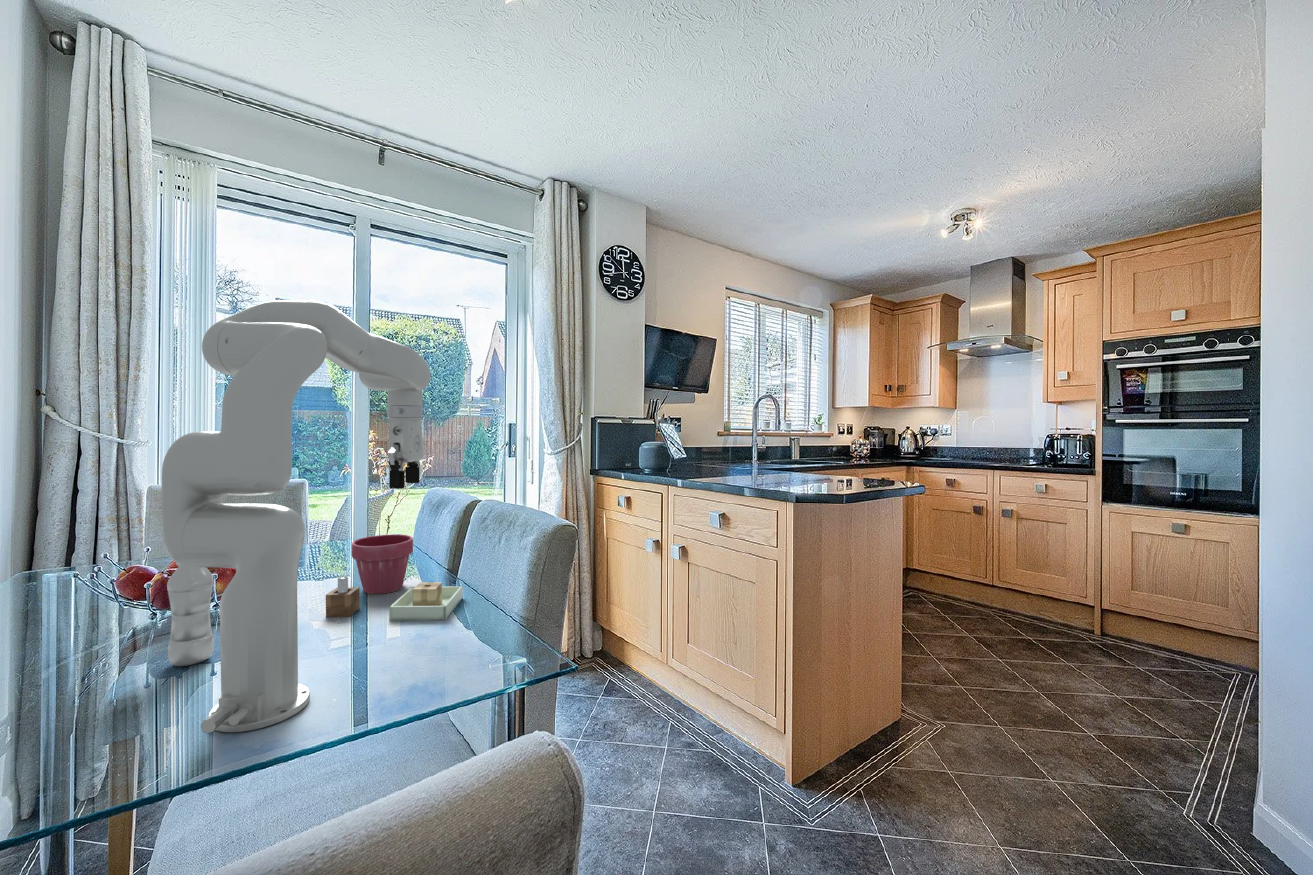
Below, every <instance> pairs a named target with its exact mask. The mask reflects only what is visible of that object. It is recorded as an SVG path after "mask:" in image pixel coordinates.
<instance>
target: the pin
mask: <svg viewBox="0 0 1313 875" xmlns="http://www.w3.org/2000/svg"><path fill="white" fill-rule="evenodd" d="M337 588H338V593H348V588H349V577H348V576H340V577H338V578H337Z"/></svg>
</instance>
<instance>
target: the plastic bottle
mask: <svg viewBox="0 0 1313 875" xmlns="http://www.w3.org/2000/svg"><path fill="white" fill-rule="evenodd" d="M175 564H176V566H177V568H176V569H175V570H174V572H173V573H172V575H170V577H169V579H168V581H167V583H166V590H167V596H168V600H169V604H170V614H171V626H170V627H171V628H170V640H169V642H168V646H167V647H168V648H167V653H166V654H167V659H168V661H169V662H170V664H171V665H173V666H175V667H186V666H191V665H196V664H199V663H201V662H204V661H206V660H207V659H209V658H210V657H211V655H212V654H213V653H214V649H215V640H214V634H213V631H212V624H211V616H210V615H211V614H210V613H211V609H210V608H211V598H212V592H213V586H214V576H213V574H212V572H211V571H210V570H209V569H208V567H192V566H185V565H181V564H179V563H177V562H175Z"/></svg>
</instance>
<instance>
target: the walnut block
mask: <svg viewBox="0 0 1313 875" xmlns="http://www.w3.org/2000/svg"><path fill="white" fill-rule="evenodd" d="M360 599H361V598H360V587H348V593H338V587H336V588H334V589H332V590H330V592H328V593H326V594H325V618H350V617H351V616H352V615H354V614H355V613H356V612H358V611H359V610H360V601H361V600H360Z"/></svg>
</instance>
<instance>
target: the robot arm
mask: <svg viewBox="0 0 1313 875" xmlns="http://www.w3.org/2000/svg"><path fill="white" fill-rule="evenodd" d="M201 350H202V351H201V352H202V355H203V358H204V361H206V363H207V364H208V365H209V367H211V368H212V369H213V370H215V371H216V372H218V373H220V374H223V375H227V376H232V379H231V380H230V381H229V383H228V384H227V387H226V389H225V391H224V394H223V397H222V403H221V404H222V406H221V421H220V422H221V424H220V430H219V431H215V430H200V431H193V432H189V433H186V434H184V435H182V436H180V437H178V438H177V439H176V440H174V442H173V443H172V444H171V445H170V446H169V448H168V449H167V451H166V454H165V456H164V458H163V462H162V466H161V467H162V468H161V510H162V518H161V520H162V538H163V546H164V548H165V551H166V553H167V555H168V556H169V557H170V559H171V560H172V561H174V562H175V563H176V562H177V563H179V564H181V565H185V566H192V567H206V568H227V569H235V574H234V576H233V577H232V579H231V580H230V582H229V583H228V584H227V586H226V587H225V588H224V591H223V592H222V595H221V598H220V600H219V601H220V602H219V624H220V625H219V627H220V628H219V632H220V633H219V634H220V636H219V637H220V684H221V685H220V692H221V693H220V695H221V696H219V697H218V703H216V704H215V705H214V706H213V707H212V708H211V709H210V710H209V712H208V714H207V718H205V719H204V720H202V722H201V723H200V730H201V731H202V732H204V733H207V734H210V733H212V732H214V731H217V732H222V733H241V732H250V731H255V730H260V729H262V728H266V727H270V726H272V725H275V724H278V723H280V722H283V721H285V720H287V719H289V718H290V717H293V716H295V715H296V714H297V713H299V712H301V711H302V710H303V709H305V707H306V706H307V705H308V704H309V702H310V698H311V692H310V688H309V687H307V686H306V685H303V684H302V683H299V652H298V651H299V647H298V646H299V641H298V640H299V637H298V636H299V635H298V634H299V633H298V627H299V626H298V578H299V577H298V575H299V566H300V560H301V555H302V549H303V544H304V541H305V540H304V539H305V531H306V529H305V523H304V521H303V518H302V517H301V515H300V514H299V513H298V512H297V511H295V510H293V509H292V508H289V507H287V506H283V505H279V504H273V503H252V502H251V503H250V502H249V503H224V496H263V495H265V496H266V495H272V494H276V493H278V492H281V491H282V490H284V489H285V488H286V487H287V486H288V484H289V483H290V480H291V476H292V470H293V469H292V468H293V420H292V419H293V417H292V416H293V415H292V414H293V404H294V401H295V397H296V396H297V393H298V391H300V389H301V387H302V386H303V385H304V383H305V382H306V381H307V380H308V379H309V378H310V377H311V376H312V375H313V374H314V373H315V372H316V371H318V370H319V368H320V367H321V366H322V365H323V363H324V362H325V360H329V361H330V362H331V363H333V364H335V365H337V366H338V367H340V368H342V369H344V370H347V371H350V372H354V373H358V378H359V380H360V382H361V383H362V384H363V386H364V387H366V388H367V389H370V390H371V391H378V392H382V391H383V392H387V420H389V429H388V430H389V431H388V446H387V447H388V448H387V450H388V453H387V459H388V461H387V463H388V471H389V473H388V474H389V477H388V478H389V480H388V481H389V484H388V485H389V486H388V487H389V489H397V490H398V489H405V483H406V484H419V483H420V469H421V468H420V466H421V462H420V460H422V459H423V458H424V441H423V428H422V427H423V426H422V422H421V421H423V390H425V389H426V388H427V387H428V386H429V384H430V381H431V369H430V366H429V364H428V363H427V362H426V359H424V357H423V356H422V355H421V354H419V352H417V351H416V350H414V349H413V348H411V347H409V346H407V345H405V344H402V343H400V342H396V341H394V340H391V339H388V338H385V337H383V336H380V335H377V334H374V333H371V332H368V331H367V330H366V329H364V328H363V327H361V326H360V325H358V323H356V322H355V321H354V320H353V319H351V318H350V317H349V316H347V315H346V314H345V313H344V312H342V311H341V310H340V309H338V308H337V307H335V306H334V305H332V304H331V303H330V304H329V303H326V302H324V301H317V300H286V299H285V300H284V299H283V300H279V299H278V300H267V301H265V302H261V303H258V304H255V305H253V306H251V307H249V308H246V309H244V310H242V311H240V312H237V313H235V314H232V315H230V316H228V317H226V318H223V319H221V320H219V321H217V322H216V323H214V324H213V325H211V326H210V327H209V328H208V329H207V330H206V332H205V334H204V335H203V339H202V342H201ZM405 465H406V466H405ZM404 468H405V470H404Z"/></svg>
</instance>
